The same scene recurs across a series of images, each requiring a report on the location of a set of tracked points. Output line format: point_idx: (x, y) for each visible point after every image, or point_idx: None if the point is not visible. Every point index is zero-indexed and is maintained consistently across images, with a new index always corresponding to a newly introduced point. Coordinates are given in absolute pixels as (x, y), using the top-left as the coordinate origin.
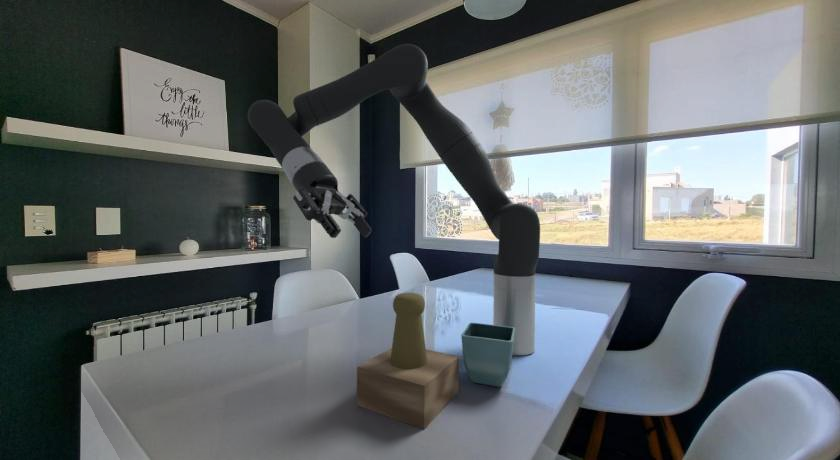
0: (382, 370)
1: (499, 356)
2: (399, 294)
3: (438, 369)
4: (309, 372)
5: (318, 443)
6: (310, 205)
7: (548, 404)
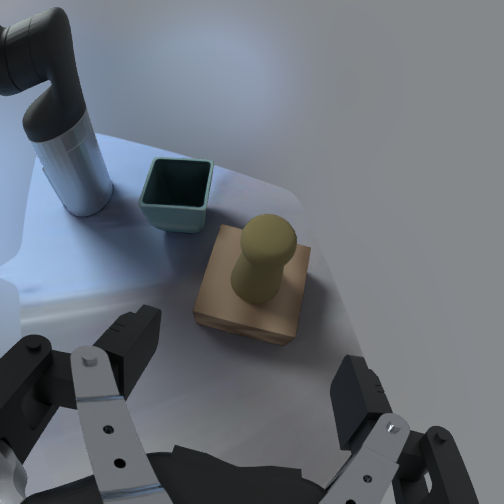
0: (293, 302)
1: (210, 184)
2: (275, 248)
3: None
4: (223, 449)
5: (349, 347)
6: (456, 453)
7: (223, 173)
